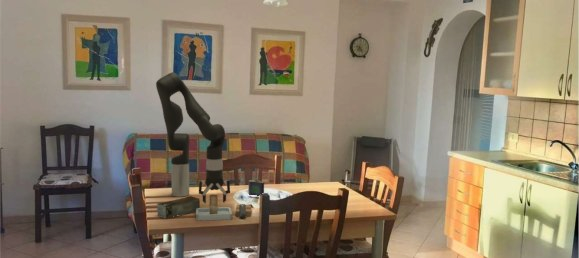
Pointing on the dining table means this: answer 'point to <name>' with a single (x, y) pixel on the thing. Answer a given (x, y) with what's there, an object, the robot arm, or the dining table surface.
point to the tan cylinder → (213, 204)
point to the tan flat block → (248, 211)
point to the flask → (255, 187)
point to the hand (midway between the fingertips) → (214, 202)
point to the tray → (223, 214)
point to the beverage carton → (178, 207)
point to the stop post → (242, 211)
